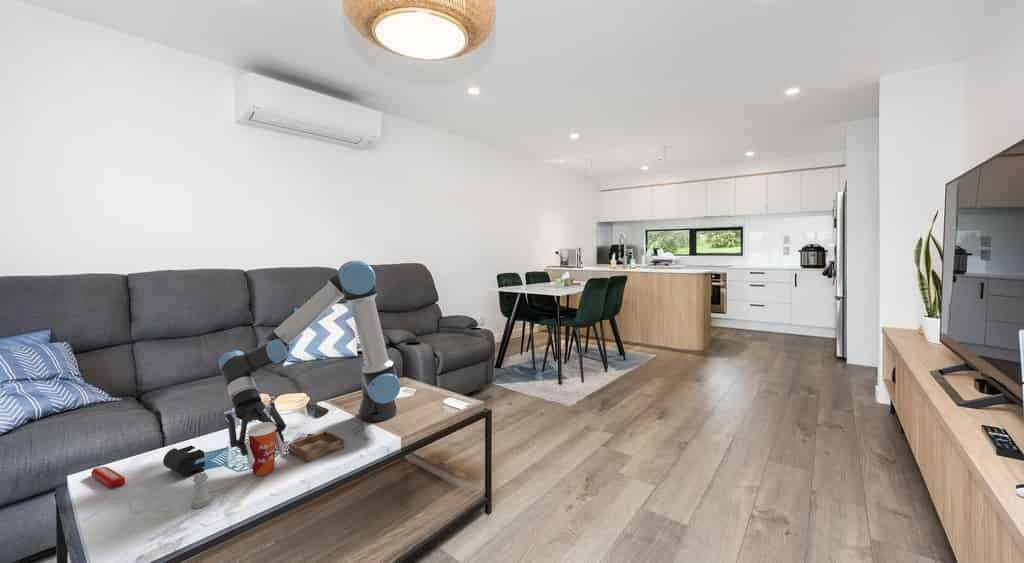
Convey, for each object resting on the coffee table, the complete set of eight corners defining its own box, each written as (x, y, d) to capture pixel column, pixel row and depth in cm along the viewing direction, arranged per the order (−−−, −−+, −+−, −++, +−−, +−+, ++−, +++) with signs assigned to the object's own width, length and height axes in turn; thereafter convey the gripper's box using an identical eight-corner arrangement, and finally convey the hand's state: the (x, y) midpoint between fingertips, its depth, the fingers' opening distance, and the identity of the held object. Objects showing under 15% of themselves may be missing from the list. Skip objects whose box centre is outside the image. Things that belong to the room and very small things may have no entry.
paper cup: (264, 478, 122) (262, 432, 121) (242, 476, 124) (240, 430, 123) (284, 465, 130) (282, 422, 129) (263, 463, 131) (261, 420, 130)
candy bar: (127, 485, 120) (127, 475, 120) (110, 492, 117) (110, 481, 116) (105, 472, 128) (105, 462, 127) (89, 477, 124) (88, 467, 124)
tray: (326, 438, 149) (326, 430, 149) (344, 448, 142) (344, 439, 142) (289, 452, 139) (288, 443, 139) (306, 463, 132) (305, 453, 132)
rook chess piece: (189, 510, 107) (187, 481, 107) (194, 501, 111) (192, 472, 111) (209, 506, 109) (208, 477, 109) (214, 497, 113) (212, 469, 113)
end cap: (163, 473, 126) (162, 451, 126) (190, 463, 132) (189, 442, 132) (178, 482, 121) (176, 460, 121) (206, 471, 127) (204, 450, 127)
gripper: (275, 392, 143) (299, 451, 134) (204, 410, 127) (225, 478, 118) (281, 380, 139) (306, 439, 130) (208, 397, 123) (231, 466, 114)
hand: (267, 457), depth 124 cm, fingers closed on paper cup, 8 cm apart
